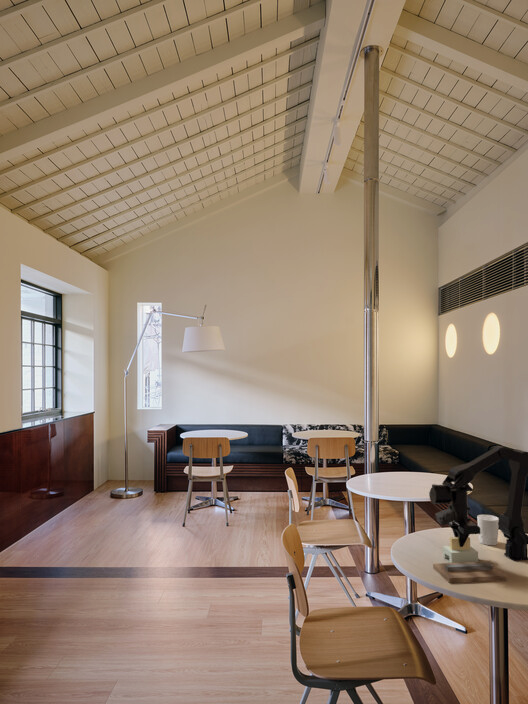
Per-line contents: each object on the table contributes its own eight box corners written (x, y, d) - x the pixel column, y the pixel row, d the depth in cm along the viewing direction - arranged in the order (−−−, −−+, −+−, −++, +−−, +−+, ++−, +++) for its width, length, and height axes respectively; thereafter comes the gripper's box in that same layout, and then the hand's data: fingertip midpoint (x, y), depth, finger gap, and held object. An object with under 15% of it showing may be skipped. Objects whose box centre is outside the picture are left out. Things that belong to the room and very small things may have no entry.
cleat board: (487, 565, 176) (487, 557, 176) (507, 580, 164) (506, 571, 164) (433, 568, 174) (433, 559, 174) (449, 582, 162) (449, 573, 162)
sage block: (468, 555, 185) (468, 534, 185) (478, 562, 178) (477, 540, 178) (442, 556, 184) (442, 534, 184) (451, 564, 177) (451, 541, 177)
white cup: (473, 540, 201) (472, 515, 202) (489, 538, 204) (488, 513, 204) (487, 547, 194) (486, 521, 194) (503, 544, 196) (503, 519, 196)
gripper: (427, 496, 190) (427, 537, 190) (450, 510, 171) (450, 556, 171) (455, 496, 191) (455, 536, 191) (480, 509, 173) (481, 555, 172)
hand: (459, 545), depth 181 cm, fingers closed on sage block
